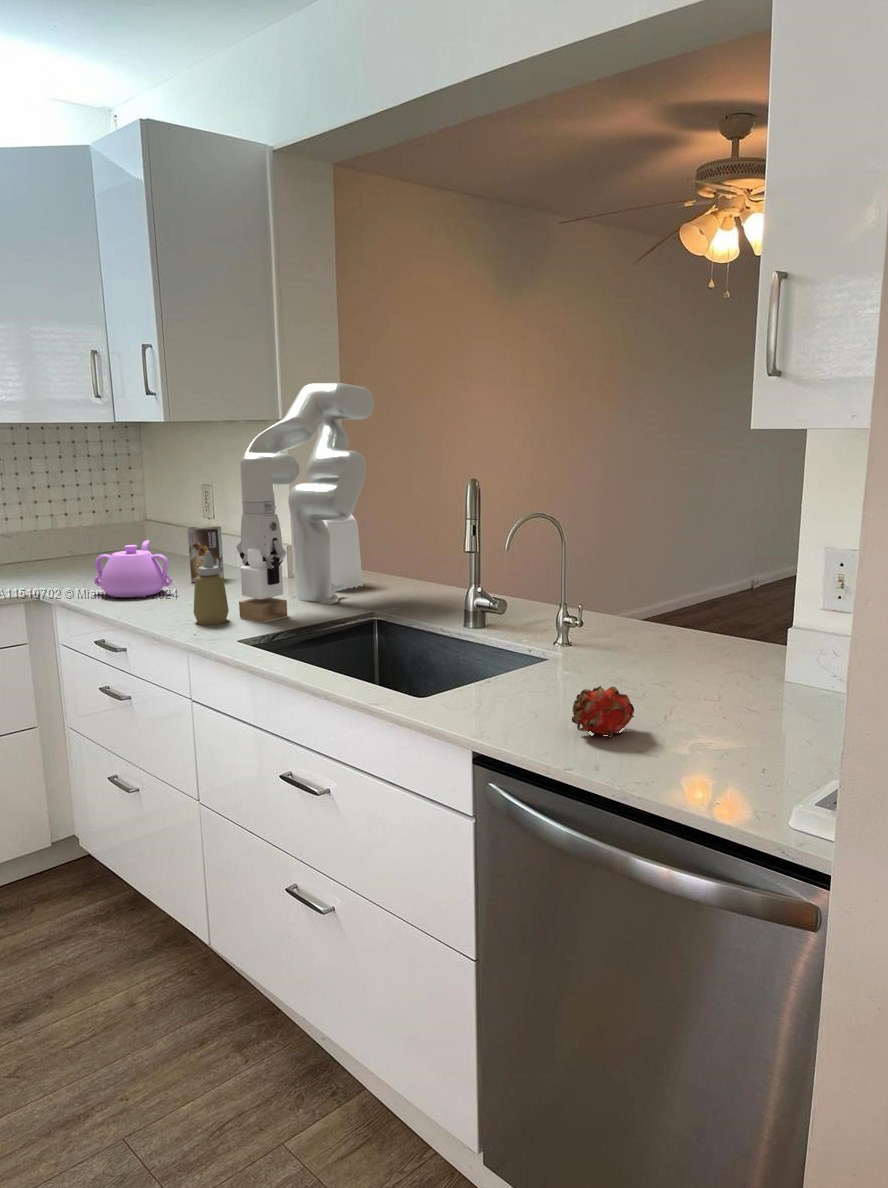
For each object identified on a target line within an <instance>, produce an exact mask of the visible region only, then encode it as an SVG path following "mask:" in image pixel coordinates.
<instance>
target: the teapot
mask: <svg viewBox="0 0 888 1188" xmlns="http://www.w3.org/2000/svg"><path fill="white" fill-rule="evenodd" d="M149 545H150V540H149V539H146V540H144V541H143V542H142V544H141V547H140V550H139V549H138V545H136V544H128V545H124V550H122V551H116V552H113V553H112V554H106V553H105V554H100V555H99V556H98V557H97V558H96V559H95V564H94V565H95V569H96V572H97V574H98V575H96V577H94V580H93V581H94V584H95V585H96V586H98V587H101V589H102V591H103V592H104V593H105V594H107V595H108V596H110V597H114V598H116V597H119V598H145V597H144V596H146V597H148V596H152V595H155V594H158V593H159V592H161V590H162V589H164V587H170V586H171V585H173V582H174V580H173V578H172V577H171V576H169V575H168V572H169V568H170V567H169V565H170V563H169V559H168V558H167V556H165V555H164V554H160V553H156V554H152V552H151V551H149ZM102 559H107V562H106V564H105V566H104V567H103V568H102V565H101V560H102ZM157 559H161V560H162V561H163V568H162V566H161V564H160V562H159V561H158V560H157ZM99 579H100V580H99ZM167 580H168V581H167Z"/></svg>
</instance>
